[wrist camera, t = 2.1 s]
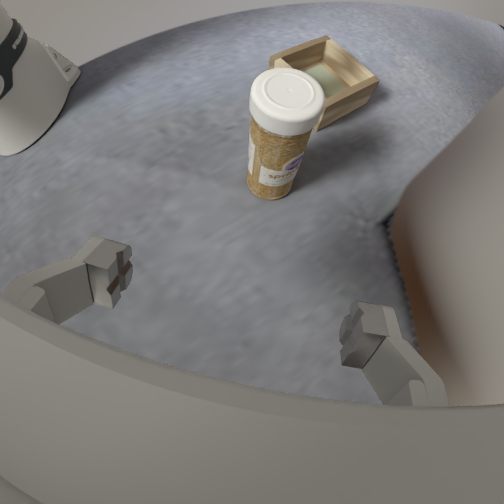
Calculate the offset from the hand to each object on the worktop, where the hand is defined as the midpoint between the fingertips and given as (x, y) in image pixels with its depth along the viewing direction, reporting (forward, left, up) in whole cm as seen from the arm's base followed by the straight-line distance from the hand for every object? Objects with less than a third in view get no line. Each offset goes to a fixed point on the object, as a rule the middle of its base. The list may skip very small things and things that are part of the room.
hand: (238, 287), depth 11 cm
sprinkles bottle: (-8, +9, -17) cm, 21 cm away
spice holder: (-14, +21, -17) cm, 30 cm away
